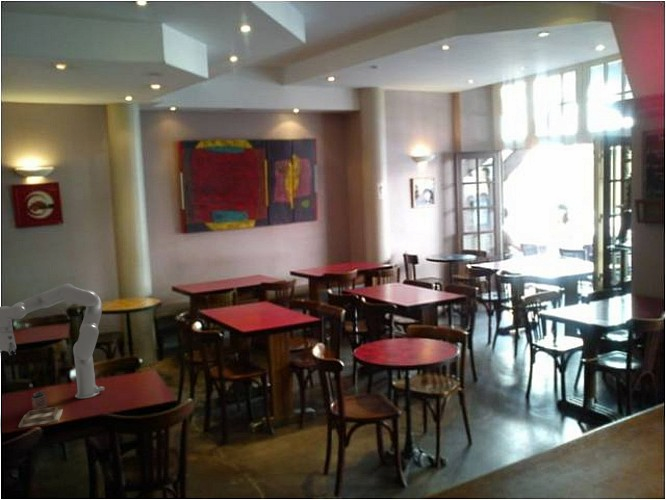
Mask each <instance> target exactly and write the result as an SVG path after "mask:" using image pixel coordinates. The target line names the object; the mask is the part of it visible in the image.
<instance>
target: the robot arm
mask: <svg viewBox="0 0 666 500" xmlns="http://www.w3.org/2000/svg"><path fill="white" fill-rule="evenodd" d="M65 301H67V302H70V303H73V304H76V305H79V306H82V307H85V312H84V316H83V320H82V322H81V324H80V328H79V335H78V339H77V341H76V342H75V343H74V345H73V347H72V353H73V359H74V368H75V377H76V378H75V379H76V386H77V387H76V388H77V393H76V394H75V396H74V397H75V398H76V399H80V400H81V399H82V400H83V399H90V398H93V397H96V396H98V395H99V394H100V391H105V386H101V385H100V386H98V385H97V384H96V378H95V377H96V376H95V369H94V367H95V366H94V358H93V353H94V351H95V348H96V345H97V341H98V339H99V338H98V337H99V333H100V332H99V331H100V330H99V325H100V320H101V317H102V313H103V303H102V302H103V301H102V300H101V298H100V296H99V295H98V294H97V293H96V292H95V291H94V290H92V289H88V288H87V289H82V288H79V287H77V286H74V285H73V284H72V283H64V284H63V283H62V284H60V285H58V286H56V287H54V288H51V289H48V290H46V291H43V292H40V293H38V294H36V295H33V296H30V297H28V298H25V299H23V300H20V301H19V302H16V303H14V304H13V305H12V306H8V305H4V306H2V305H1V306H0V360H1V361H2V362H3V361H7V360H9V363H15V362H17V355H16V354H17V353H16V350H17V343H16V339H15V334H14V327H13V321H12V320H20V319H23V318H24V317H25V316H26V315H27V314H29V313H31V312H34V311H37V310H39V309H46V308H50V307H52V306H55V305H57V304H60V303H62V302H65Z"/></svg>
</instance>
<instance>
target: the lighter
mask: <svg viewBox="0 0 666 500" xmlns="http://www.w3.org/2000/svg"><path fill="white" fill-rule="evenodd" d="M32 395H33V397H31V398H30V399H31V404H32V410H38V409H45V408H49V406H48V400H47V399H48V398H47V396H48V395H47V394H46V393H45V390H43V389H42V390H40V391H36V392H35V393H33V394H32Z"/></svg>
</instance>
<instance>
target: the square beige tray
mask: <svg viewBox="0 0 666 500" xmlns="http://www.w3.org/2000/svg"><path fill="white" fill-rule="evenodd" d="M63 412H64V409H63V408H62V409H61V408H60V409H59V407H58V406H53V407H48V408H45V409H38V410H33V409H32V410H28V411H27V413H26V414H24V415H23V417H22V418H21V420H20V422H19V424H18V428H19V429H20V428H26V427H27V428H28V427H32V426H33V427H34V426H38V425H40V426H41V425H45V424H52V423H58V422H59V421H60V419H61V417H62V414H63Z"/></svg>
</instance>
